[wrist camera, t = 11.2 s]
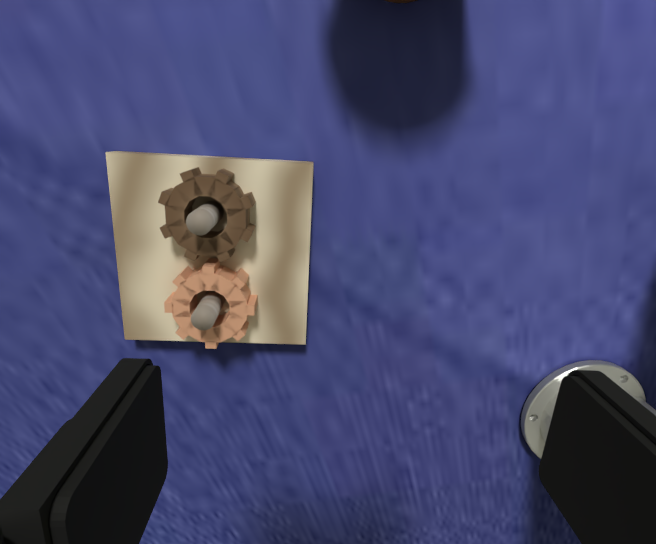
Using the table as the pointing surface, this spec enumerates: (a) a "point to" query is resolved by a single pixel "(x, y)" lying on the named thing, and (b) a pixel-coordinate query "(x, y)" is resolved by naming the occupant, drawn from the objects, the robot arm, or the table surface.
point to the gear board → (253, 257)
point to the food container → (400, 1)
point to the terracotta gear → (221, 282)
